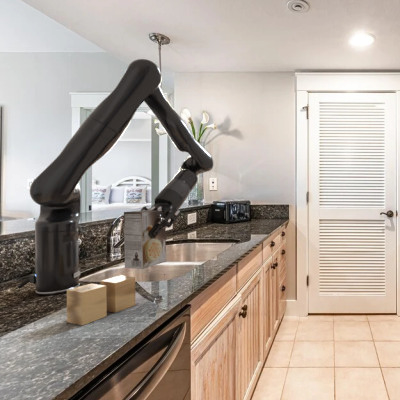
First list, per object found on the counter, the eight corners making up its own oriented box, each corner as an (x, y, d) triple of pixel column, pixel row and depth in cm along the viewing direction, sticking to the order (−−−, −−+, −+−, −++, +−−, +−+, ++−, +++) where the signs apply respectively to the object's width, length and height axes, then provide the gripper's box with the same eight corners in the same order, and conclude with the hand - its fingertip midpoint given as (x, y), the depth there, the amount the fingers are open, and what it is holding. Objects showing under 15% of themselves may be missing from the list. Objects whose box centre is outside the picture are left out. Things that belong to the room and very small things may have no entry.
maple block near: (66, 322, 62) (66, 290, 62) (91, 313, 67) (91, 283, 67) (82, 325, 61) (82, 292, 61) (106, 316, 65) (106, 285, 65)
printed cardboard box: (148, 260, 91) (148, 209, 90) (166, 261, 89) (166, 210, 89) (123, 268, 82) (123, 211, 81) (142, 269, 80) (142, 211, 80)
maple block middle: (100, 310, 69) (100, 280, 69) (121, 302, 74) (120, 275, 74) (115, 312, 67) (115, 282, 67) (135, 305, 72) (135, 277, 72)
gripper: (149, 187, 95) (114, 226, 84) (184, 187, 90) (151, 229, 79) (163, 203, 100) (131, 242, 89) (197, 203, 95) (167, 245, 84)
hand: (141, 235), depth 84 cm, fingers closed on printed cardboard box, 7 cm apart
